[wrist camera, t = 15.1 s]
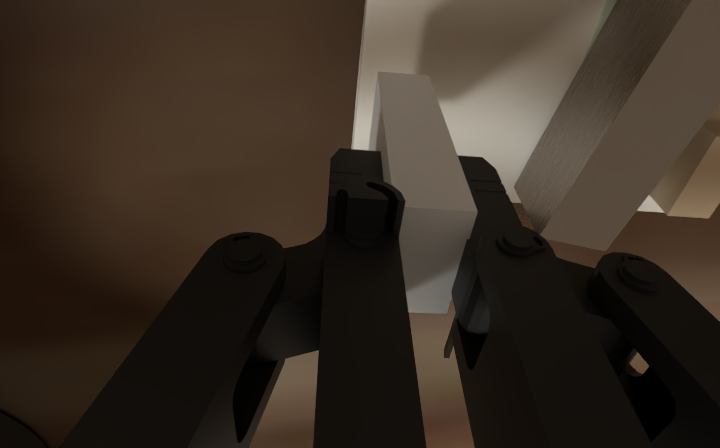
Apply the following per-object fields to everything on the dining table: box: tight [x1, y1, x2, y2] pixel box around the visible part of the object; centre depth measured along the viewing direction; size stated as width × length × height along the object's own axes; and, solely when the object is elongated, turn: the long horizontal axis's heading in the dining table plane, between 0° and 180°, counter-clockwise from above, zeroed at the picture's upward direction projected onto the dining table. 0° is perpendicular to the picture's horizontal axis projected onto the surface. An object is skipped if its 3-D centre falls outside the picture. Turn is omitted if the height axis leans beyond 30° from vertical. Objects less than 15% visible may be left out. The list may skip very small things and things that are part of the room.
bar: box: [514, 0, 720, 251], centre depth 15 cm, size 8×2×3 cm, turn 165°
